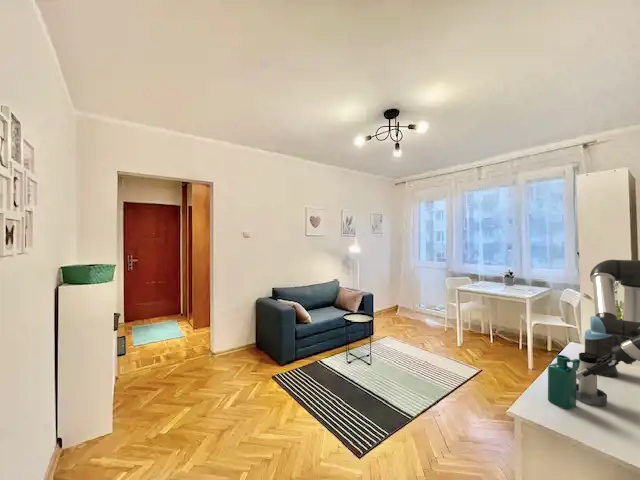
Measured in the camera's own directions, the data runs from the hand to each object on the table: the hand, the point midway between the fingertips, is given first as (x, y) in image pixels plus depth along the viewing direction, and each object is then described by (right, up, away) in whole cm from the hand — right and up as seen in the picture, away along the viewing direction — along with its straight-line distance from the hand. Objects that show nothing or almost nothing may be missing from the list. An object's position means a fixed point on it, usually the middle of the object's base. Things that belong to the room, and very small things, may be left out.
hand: (577, 375), depth 134 cm
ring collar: (+2, -10, -3) cm, 10 cm away
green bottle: (-13, -10, -7) cm, 18 cm away
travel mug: (+2, -9, -3) cm, 9 cm away
